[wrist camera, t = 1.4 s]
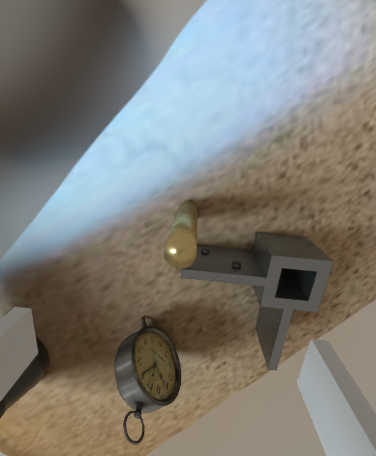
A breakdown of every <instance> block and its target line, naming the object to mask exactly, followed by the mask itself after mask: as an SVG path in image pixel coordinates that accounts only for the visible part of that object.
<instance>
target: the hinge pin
mask: <svg viewBox="0 0 376 456" xmlns="http://www.w3.org/2000/svg"><path fill="white" fill-rule="evenodd" d="M197 221H198V207H197V205H196V204H195V203H194V202H193V201H189V200H188V201H184V202H182V203H181V204H180V206H179V209H178V212H177V215H176V218H175V221H174V224H173V226H172V229H171V232H170V235H169V238H168V241H167V244H166V247H165V250H164V257H165V260H166V261H167V263H168V264H169V265H171V266H172V267H175V268H179V269H182V268H187V267H189V266H190V265H192V264H193V263H194V261H195V259H196V249H197Z"/></svg>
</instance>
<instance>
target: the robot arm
mask: <svg viewBox="0 0 376 456" xmlns="http://www.w3.org/2000/svg"><path fill="white" fill-rule="evenodd" d="M47 368H48V355H47V352H46V350H45V348H44V346H43V345H42V344H41V342H40V341H39V340H38V339H37V338H36V336H35V330H34V323H33V317H32V311H31V308H22V307H14V308H13V309H12V310H11V311H10V312H8V313H7V314H6V315H5V316H4V317H3V318H2V319H0V418H1V417H2V415H3V414H4V413H5V411H6V410H7V409H8V408H10V407H11V406H12V405H13V404H14V403H15V402H17V401H18V400H19V399H20V398H21V397H22V396H23V395H24V394H26V393H27V392H28V391H29V390H30V389H32V388H33V387H34V386H35V385H36V384H37V383H38V382H39V381H40V379H41V378H42V376H43V375H44V374H45V372H46V370H47ZM297 384H298V386H299V389H300V391H301V394H302V396H303V399H304V401H305V404H306V406H307V408H308V411H309V413H310V416H311V418H312V421H313V423H314V426H315V428H316V430H317V433H318V435H319V438H320V440H321V443H322V445H323V448H324V450H325V453H326V455H327V456H376V414H375V412H374V410H373V409H372V407H371V406H370V404H369V403H368V401H367V400H366V398H365V396H364V395H363V394H362V392H361V390H360V389H359V387H358V386H357V384H356V383H355V381H354V380H353V378H352V377H351V375H350V374H349V372H348V371H347V369H346V368H345V366H344V364H343V363H342V361H341V360H340V358H339V357H338V355H337V354H336V352H335V351H334V349H333V348H332V346H331V345H330V343H329V342H328V341H324V340H315V339H311V342H310V345H309V348H308V350H307V353H306V356H305V359H304V362H303V366H302V368H301V371H300V374H299V377H298V380H297Z"/></svg>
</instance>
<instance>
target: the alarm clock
mask: <svg viewBox="0 0 376 456" xmlns="http://www.w3.org/2000/svg"><path fill="white" fill-rule="evenodd" d="M141 319H142V325H143V328H142V329H141V330H139V331H137V332H136V333H134V334H132V335H130V336H129V337H127V338H126V339H125V340H124V341H123V342H122V343H121V345H120V346H119V348H118V350H117V353H116V357H115V363H114V374H115V380H116V385H117V388H118V390H119V393H120V395H121V397H122V398H123V400H124V401H125V402H126V404H127V405H128V406H129V407H130V408H132V409H133V410H135V411H130V412H128V414H127V415H126V417H125V419H124V423H123V429H124V434H125V437H126V439H127V440H128V441H129V442H130V443H131V444H133V445H137V444H139V443H140V442H141V441H142V440H143V437H144V424H143V419H142V417H141V413H149V412H152V411H155V410H157V409H159V408H161V407H164V406H166V405H169V404H171V403H172V402H173V401H174V400H175V398H176V397H177V395H178V393H179V390H180V385H181V367H180V362H179V358H178V355H177V352H176V348H175V347H174V346H173V344H172V342H171V340H170V339H169V338H168V337H167V335H166V334H165V333H164V332H162V331H161V330H159V329H158V328H155V327H152V326H147V325H146V322H145V317H142V318H141ZM132 413H134V417H135V418H140V420H141V423H142V435H141V438H140V439H139V440H138V441H133V440H131V439H130V437H129V436H128V434H127V430H126V420H127V418H128V416H129V415H130V414H132Z"/></svg>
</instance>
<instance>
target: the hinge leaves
mask: <svg viewBox="0 0 376 456" xmlns="http://www.w3.org/2000/svg"><path fill="white" fill-rule="evenodd" d="M333 263H334V261H333V260H332V259H330V258H329V257H328V256H327V255H326V254H325V253H323V252H322V251H321V250H320V249H319V248H318V247H316V246H315V245H314V244H313V243H312V242H311V241H309V240H308V239H307V238H306V237H304V236H294V235H283V234H273V233H262V232H256V237H255V242H254V247H253V250H246V249H235V248H225V247H215V246H204V245H197V249H196V259H195V261H194V263H193V264H192V265H190V266H189V267H187V268H182V270H181V278H187V279H197V280H207V281H217V282H227V283H237V284H247V285H253V288H254V291H255V293H256V296H257V299H258V301H259V304H260V310H259V314H258V319H257V323H256V332H257V335H258V338H259V342H260V345H261V348H262V352H263V355H264V358H265V361H266V365H267V368H268V370H277V367H278V363H279V360H280V356H281V353H282V349H283V345H284V342H285V338H286V335H287V331H288V328H289V324H290V321H291V317H292V314H293V310H300V311H310V312H318V309H319V306H320V303H321V299H322V296H323V293H324V290H325V287H326V284H327V281H328V278H329V275H330V272H331V269H332V266H333ZM282 268H286V269H282Z"/></svg>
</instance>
